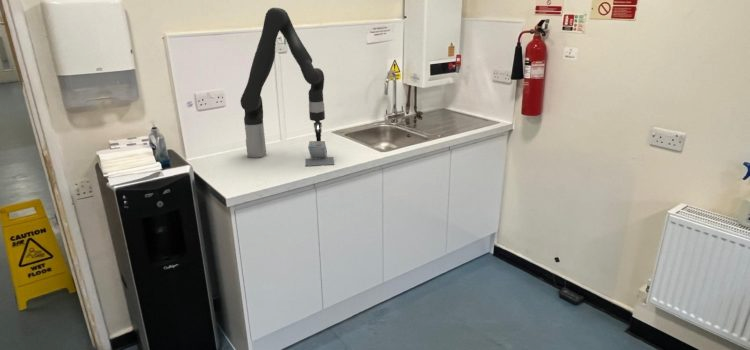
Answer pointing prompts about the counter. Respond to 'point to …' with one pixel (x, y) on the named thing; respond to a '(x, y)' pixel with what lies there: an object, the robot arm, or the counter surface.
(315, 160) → the mat
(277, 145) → the counter surface
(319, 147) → the medicine box
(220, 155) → the counter surface
